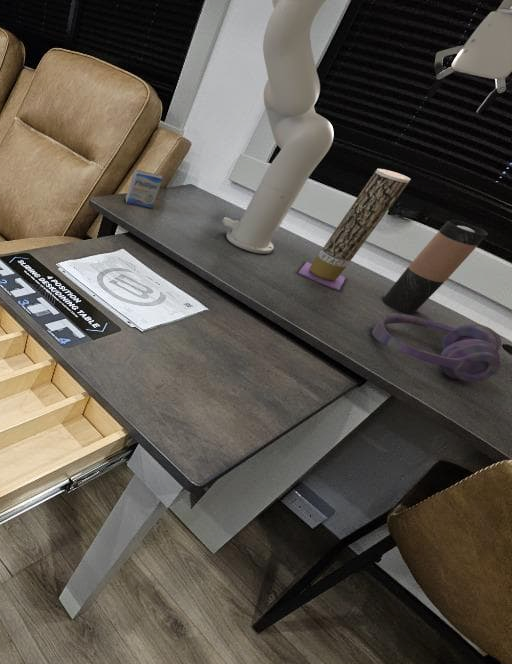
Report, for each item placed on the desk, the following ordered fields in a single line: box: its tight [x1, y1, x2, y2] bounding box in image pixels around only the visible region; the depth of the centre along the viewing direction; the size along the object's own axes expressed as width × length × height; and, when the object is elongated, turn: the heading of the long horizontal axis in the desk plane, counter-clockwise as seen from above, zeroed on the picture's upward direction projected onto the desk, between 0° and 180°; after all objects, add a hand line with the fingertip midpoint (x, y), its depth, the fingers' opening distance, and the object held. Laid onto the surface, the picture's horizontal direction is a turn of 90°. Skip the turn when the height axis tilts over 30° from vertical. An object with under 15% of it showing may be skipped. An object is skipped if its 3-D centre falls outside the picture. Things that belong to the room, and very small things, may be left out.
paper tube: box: [310, 168, 412, 280], centre depth 108 cm, size 7×7×25 cm
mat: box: [297, 261, 346, 292], centre depth 117 cm, size 10×10×1 cm
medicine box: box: [125, 169, 163, 209], centre depth 133 cm, size 8×4×9 cm, turn 80°
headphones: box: [371, 312, 502, 383], centre depth 92 cm, size 18×8×20 cm
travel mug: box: [383, 219, 488, 314], centre depth 104 cm, size 8×8×20 cm
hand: (452, 106), depth 99 cm, fingers open, 9 cm apart
